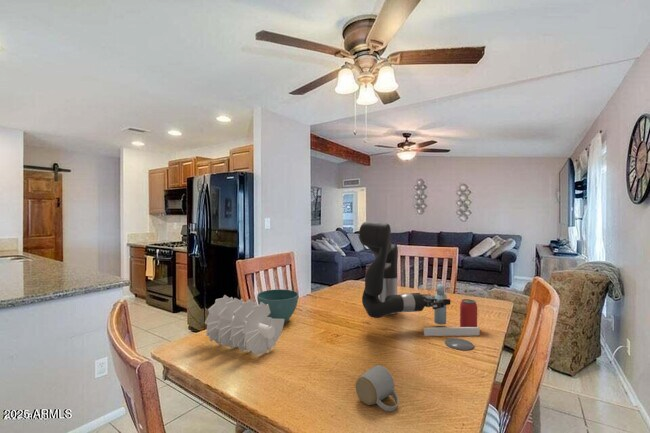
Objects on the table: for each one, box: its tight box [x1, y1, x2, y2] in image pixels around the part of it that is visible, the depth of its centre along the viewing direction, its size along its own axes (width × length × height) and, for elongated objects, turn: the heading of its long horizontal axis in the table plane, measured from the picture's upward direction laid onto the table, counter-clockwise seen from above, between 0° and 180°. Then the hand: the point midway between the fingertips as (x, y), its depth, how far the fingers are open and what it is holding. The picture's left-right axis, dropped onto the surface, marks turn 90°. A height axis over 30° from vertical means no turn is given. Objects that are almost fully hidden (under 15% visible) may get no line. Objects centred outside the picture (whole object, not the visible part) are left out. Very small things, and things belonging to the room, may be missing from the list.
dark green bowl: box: [256, 288, 299, 324], centre depth 145 cm, size 18×18×12 cm
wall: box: [423, 326, 480, 337], centre depth 129 cm, size 22×1×3 cm, turn 92°
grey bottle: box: [433, 283, 448, 326], centre depth 138 cm, size 5×5×16 cm
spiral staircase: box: [204, 294, 285, 358], centre depth 117 cm, size 18×18×25 cm
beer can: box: [459, 298, 478, 327], centre depth 135 cm, size 7×7×12 cm
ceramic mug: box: [355, 364, 399, 412], centre depth 84 cm, size 11×8×8 cm
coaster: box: [444, 337, 475, 351], centre depth 120 cm, size 10×10×1 cm
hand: (445, 299), depth 139 cm, fingers closed on grey bottle, 4 cm apart
